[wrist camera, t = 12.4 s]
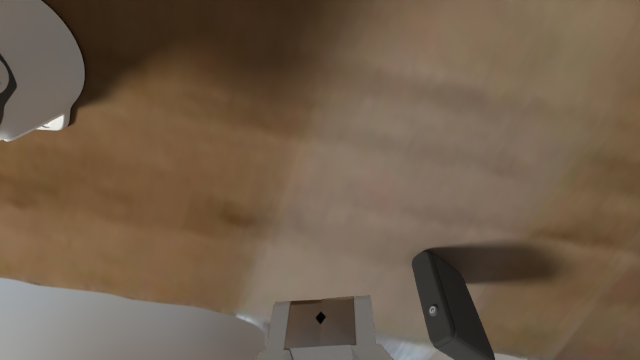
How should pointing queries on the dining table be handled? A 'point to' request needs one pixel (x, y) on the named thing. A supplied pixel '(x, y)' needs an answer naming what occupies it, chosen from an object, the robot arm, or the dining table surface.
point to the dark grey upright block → (449, 310)
